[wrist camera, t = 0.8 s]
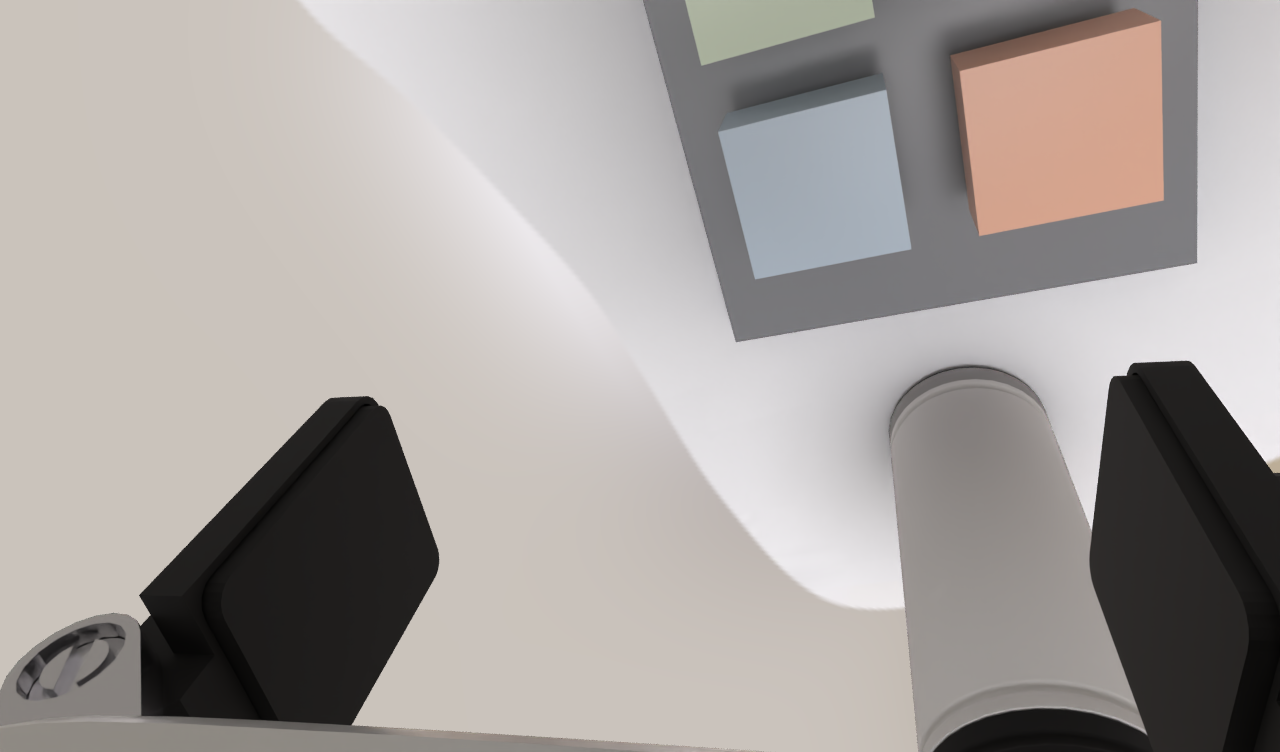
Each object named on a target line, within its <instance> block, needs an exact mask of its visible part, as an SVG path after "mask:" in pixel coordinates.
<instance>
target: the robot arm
mask: <svg viewBox="0 0 1280 752" xmlns="http://www.w3.org/2000/svg"><path fill="white" fill-rule="evenodd" d="M438 566H439V552H438V548H437V545H436V543H435V540H434V537H433V534H432V531H431V529H430V526H429V523H428V520H427V517H426V515H425V512H424V509H423V506H422V504H421V501H420V498H419V495H418V492H417V489H416V487H415V484H414V481H413V478H412V475H411V473H410V470H409V467H408V464H407V461H406V459H405V456H404V453H403V450H402V447H401V444H400V442H399V439H398V436H397V433H396V430H395V428H394V425H393V422H392V419H391V416H390V414H389V412H388V410H387V409H386V408H385V407H383V406H379V405H378V404H377V402H376V401H375V400H374V399H373V398H371V397H369V396H365V397H364V396H363V397H340V398H330V399H328V400H327V401H326V402H325V403H324V404H322V405H321V406H320V408H319V409H318V410H317V411H316V412H315V413H314V414H313V415H312V416H311V417H310V418H309V419H308V420H307V421H306V422H305V423H304V424H303V425H302V426H301V427H300V429H298V430H297V432H296V433H295V434H294V435H293V436H292V437H291V438H290V439H289V440H288V441H287V442H286V443H285V444H284V445H283V446H282V447H281V448H280V449H279V450H278V451H277V452H276V453H275V454H274V455H273V457H271V459H270V460H269V461H268V462H267V463H266V464H265V465H264V466H263V467H262V468H261V469H260V470H259V471H258V472H257V473H256V474H255V475H254V476H253V477H252V478H251V479H250V480H249V481H248V483H247V484H246V485H245V486H244V487H243V488H242V489H241V490H240V491H239V492H238V493H237V494H236V495H235V496H234V497H233V498H232V499H231V500H230V501H229V502H228V503H227V504H226V505H225V506H224V508H223V509H222V510H221V511H220V512H219V513H218V514H217V515H216V516H215V517H214V518H213V519H212V520H211V521H210V522H209V523H208V524H207V525H206V526H205V527H204V528H203V529H202V530H201V531H200V532H199V534H198V535H197V536H196V537H195V538H194V539H193V540H192V541H191V542H190V543H189V544H188V545H187V546H186V547H185V548H184V549H183V550H182V551H181V552H180V553H179V555H177V556H176V558H175V559H174V560H173V561H172V562H171V563H170V564H169V565H168V566H167V567H166V568H165V569H164V570H163V571H162V572H161V573H160V574H159V575H158V576H157V577H156V578H155V579H154V580H153V582H151V584H150V585H149V586H148V587H147V588H146V589H145V590H144V591H143V592H142V593H141V594H140V595H139V596H140V598H141V599H142V601H143V602H144V604H145V606H146V608H147V609H148V611H149V613H150V614H151V616H149V617H148V619H147V620H146V621H145V622H144V623H143V624H142V625H141V626H140V625H139V623H138V621H137V620H135V619H134V618H132V617H131V616H129V615H126V614H117V613H111V614H105V615H98V616H94V617H91V618H88V619H85V620H82V621H79V622H76V623H74V624H72V625H70V626H68V627H66V628H64V629H62V630H60V631H58V632H56V633H54V634H52V635H51V636H49V637H48V638H47V639H45V640H44V641H42V642H41V643H39V644H38V645H36V646H35V647H34V648H32V649H31V650H30V651H29V652H28V653H27V654H26V655H25V656H23V657H22V658H21V659H20V660H19V661H18V662H17V664H16V665H15V666H14V667H13V669H12V670H11V671H10V672H9V674H8V675H7V676H6V679H5V681H4V683H3V685H2V688H1V690H0V752H762V751H747V750H734V749H719V748H705V747H690V746H674V745H659V744H644V743H628V742H612V741H597V740H581V739H566V738H551V737H535V736H518V735H502V734H486V733H471V732H455V731H439V730H438V731H437V730H420V729H404V728H386V727H369V726H352V723H353V722H354V720H355V718H356V716H357V714H358V713H359V711H360V709H361V707H362V706H363V704H364V702H365V700H366V699H367V697H368V695H369V693H370V691H371V690H372V688H373V686H374V684H375V683H376V681H377V679H378V677H379V675H380V674H381V672H382V670H383V668H384V667H385V665H386V663H387V661H388V659H389V658H390V656H391V654H392V653H393V651H394V649H395V647H396V645H397V644H398V642H399V640H400V638H401V637H402V635H403V633H404V631H405V630H406V628H407V626H408V624H409V622H410V621H411V619H412V617H413V615H414V614H415V612H416V610H417V608H418V607H419V605H420V603H421V601H422V600H423V598H424V596H425V594H426V592H427V591H428V589H429V587H430V585H431V584H432V582H433V580H434V578H435V576H436V574H437V571H438ZM1089 566H1090V574H1091V580H1092V584H1093V587H1094V590H1095V593H1096V595H1097V598H1098V601H1099V604H1100V606H1101V609H1102V612H1103V615H1104V617H1105V620H1106V623H1107V626H1108V628H1109V631H1110V634H1111V637H1112V639H1113V642H1114V645H1115V648H1116V650H1117V653H1118V656H1119V659H1120V661H1121V664H1122V667H1123V670H1124V672H1125V675H1126V678H1127V681H1128V683H1129V686H1130V689H1131V692H1132V694H1133V697H1134V700H1135V703H1136V705H1137V708H1138V711H1139V714H1140V716H1141V719H1142V722H1143V725H1144V727H1145V730H1146V733H1147V736H1148V738H1149V741H1150V744H1151V747H1152V749H1153V752H1280V473H1273V472H1272V471H1271V469H1270V468H1269V467H1268V465H1267V464H1266V462H1265V461H1264V460H1263V458H1262V457H1261V456H1260V454H1259V453H1258V451H1257V450H1256V449H1255V447H1254V446H1253V445H1252V443H1251V442H1250V441H1249V439H1248V438H1247V436H1246V435H1245V434H1244V432H1243V431H1242V430H1241V428H1240V427H1239V425H1238V424H1237V423H1236V421H1235V420H1234V419H1233V417H1232V416H1231V415H1230V413H1229V412H1228V410H1227V409H1226V408H1225V406H1224V405H1223V404H1222V402H1221V401H1220V399H1219V398H1218V397H1217V395H1216V394H1215V393H1214V391H1213V390H1212V389H1211V387H1210V386H1209V384H1208V383H1207V382H1206V380H1205V379H1204V378H1203V376H1202V375H1201V374H1200V372H1199V371H1198V369H1197V368H1196V367H1195V365H1194V364H1193V363H1191V362H1190V361H1170V362H1147V363H1133V364H1132V365H1131V366H1130V368H1129V370H1128V372H1127V376H1114V377H1113V378H1112V379H1111V382H1110V385H1109V392H1108V400H1107V409H1106V417H1105V426H1104V434H1103V443H1102V451H1101V460H1100V468H1099V477H1098V485H1097V494H1096V502H1095V511H1094V519H1093V528H1092V536H1091V545H1090V554H1089Z"/></svg>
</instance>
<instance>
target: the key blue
mask: <svg viewBox="0 0 1280 752" xmlns="http://www.w3.org/2000/svg"><path fill="white" fill-rule="evenodd" d="M718 134H719V138H720V142H721V146H722V150H723V154H724V158H725V162H726V166H727V170H728V174H729V178H730V182H731V186H732V190H733V194H734V198H735V202H736V206H737V210H738V214H739V218H740V222H741V226H742V229H743V233H744V237H745V241H746V245H747V249H748V253H749V257H750V261H751V265H752V269H753V273H754V277H755V279H760V278H765V277H771V276H776V275H781V274H786V273H791V272H796V271H802V270H807V269H812V268H817V267H822V266H827V265H833V264H838V263H843V262H848V261H853V260H858V259H864V258H869V257H874V256H879V255H884V254H889V253H895V252H900V251H905V250H910V249H911V243H910V236H909V230H908V224H907V217H906V211H905V205H904V198H903V192H902V186H901V180H900V173H899V167H898V161H897V154H896V148H895V142H894V135H893V129H892V123H891V116H890V110H889V104H888V97H887V91H886V86H885V82H884V77H883V73H880V74H876V75H872V76H868V77H864V78H861V79H857V80H853V81H849V82H845V83H841V84H837V85H833V86H830V87H826V88H822V89H818V90H814V91H810V92H806V93H802V94H799V95H795V96H791V97H787V98H783V99H779V100H775V101H771V102H768V103H764V104H760V105H756V106H752V107H748V108H744V109H740V110H737V111H733V112H729V113H726V116H725V118H724V120H723V122H722V124H721V127H720V129H719V131H718Z"/></svg>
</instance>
